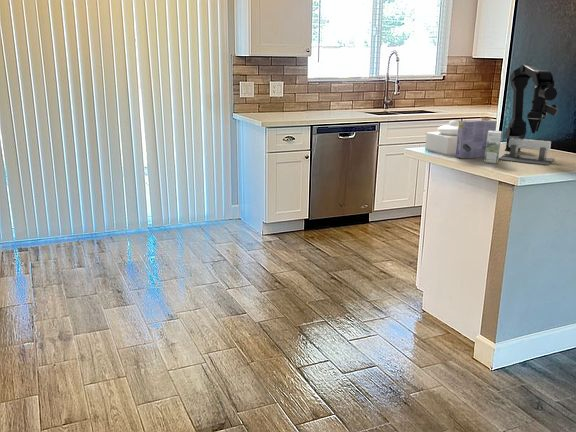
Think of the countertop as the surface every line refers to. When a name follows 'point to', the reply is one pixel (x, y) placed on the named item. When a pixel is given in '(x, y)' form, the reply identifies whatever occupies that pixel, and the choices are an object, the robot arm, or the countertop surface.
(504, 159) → the mat
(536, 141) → the steel bar
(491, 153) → the syrup box
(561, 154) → the countertop surface
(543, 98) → the robot arm
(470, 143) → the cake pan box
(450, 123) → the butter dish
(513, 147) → the hook posts
